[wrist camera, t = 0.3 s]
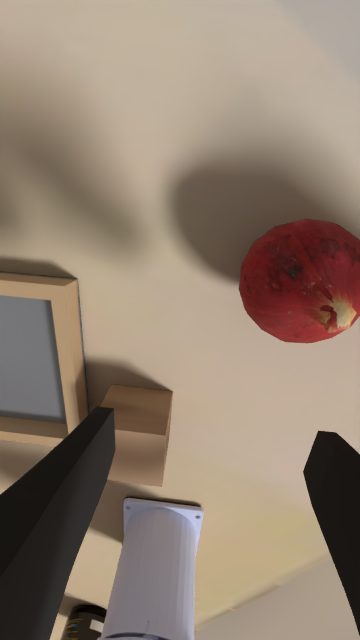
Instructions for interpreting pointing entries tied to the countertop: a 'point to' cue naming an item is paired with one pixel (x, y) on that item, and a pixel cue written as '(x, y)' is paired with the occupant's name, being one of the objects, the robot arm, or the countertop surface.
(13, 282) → the slate tray
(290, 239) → the onion
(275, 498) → the countertop surface
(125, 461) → the walnut block
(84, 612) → the supplement container
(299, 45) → the countertop surface
